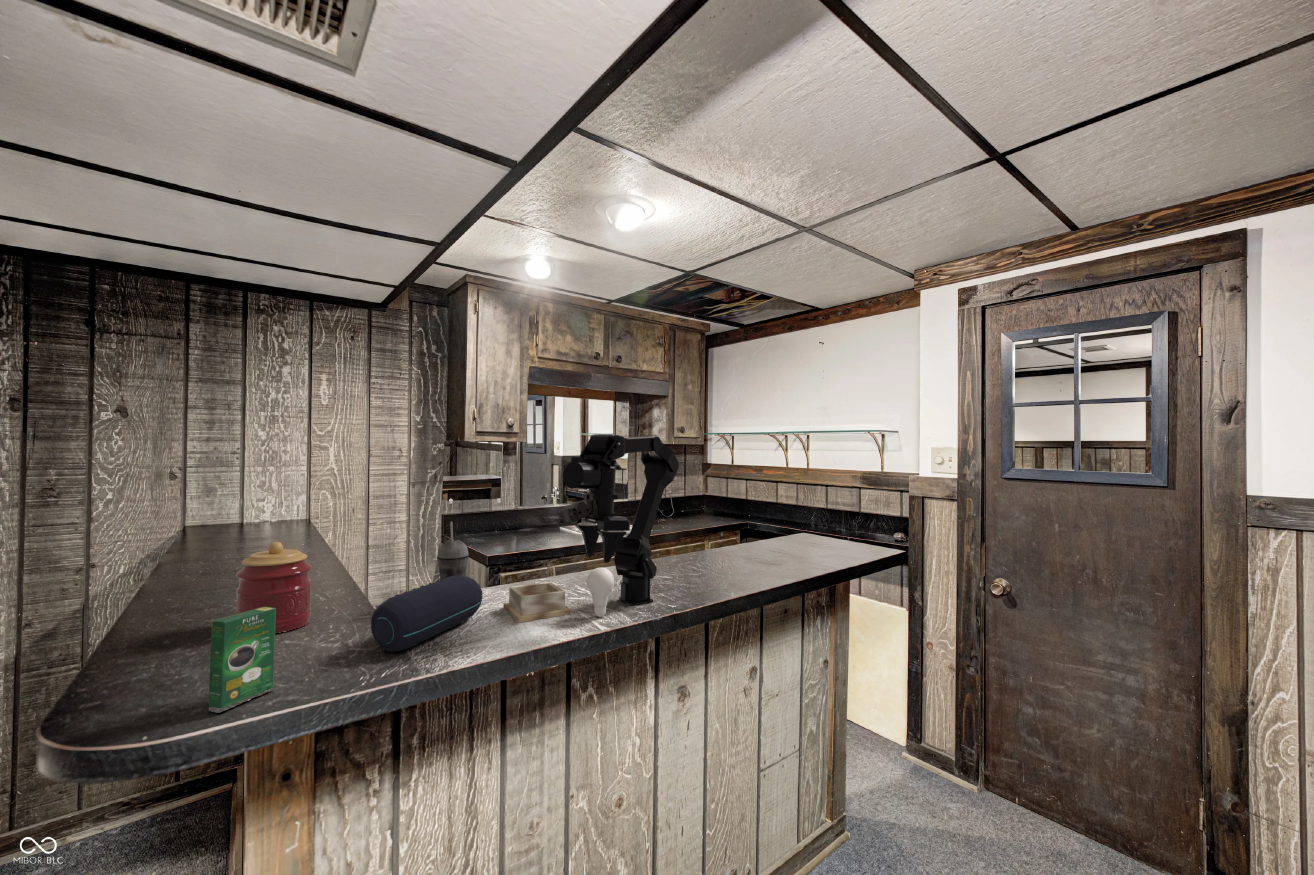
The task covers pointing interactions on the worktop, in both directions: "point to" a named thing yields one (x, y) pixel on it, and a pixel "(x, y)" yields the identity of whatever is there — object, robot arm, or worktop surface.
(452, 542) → the beverage cup
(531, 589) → the box
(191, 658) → the worktop surface
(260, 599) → the canister
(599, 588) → the lightbulb
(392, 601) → the portable speaker
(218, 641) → the coffee box
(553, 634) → the worktop surface
